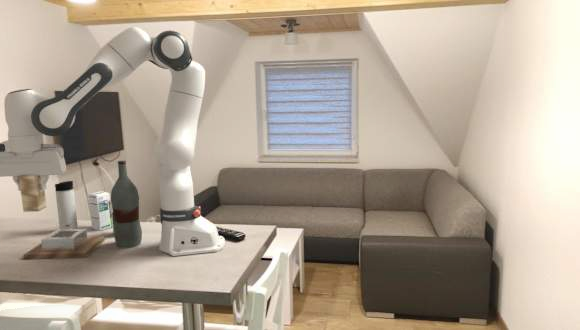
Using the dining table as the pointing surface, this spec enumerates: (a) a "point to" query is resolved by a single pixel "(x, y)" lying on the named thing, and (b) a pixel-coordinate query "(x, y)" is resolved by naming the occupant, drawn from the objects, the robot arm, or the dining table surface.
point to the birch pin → (32, 193)
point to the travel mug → (66, 205)
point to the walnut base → (78, 252)
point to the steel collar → (64, 239)
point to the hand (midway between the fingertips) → (32, 189)
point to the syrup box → (100, 210)
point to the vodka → (125, 210)
